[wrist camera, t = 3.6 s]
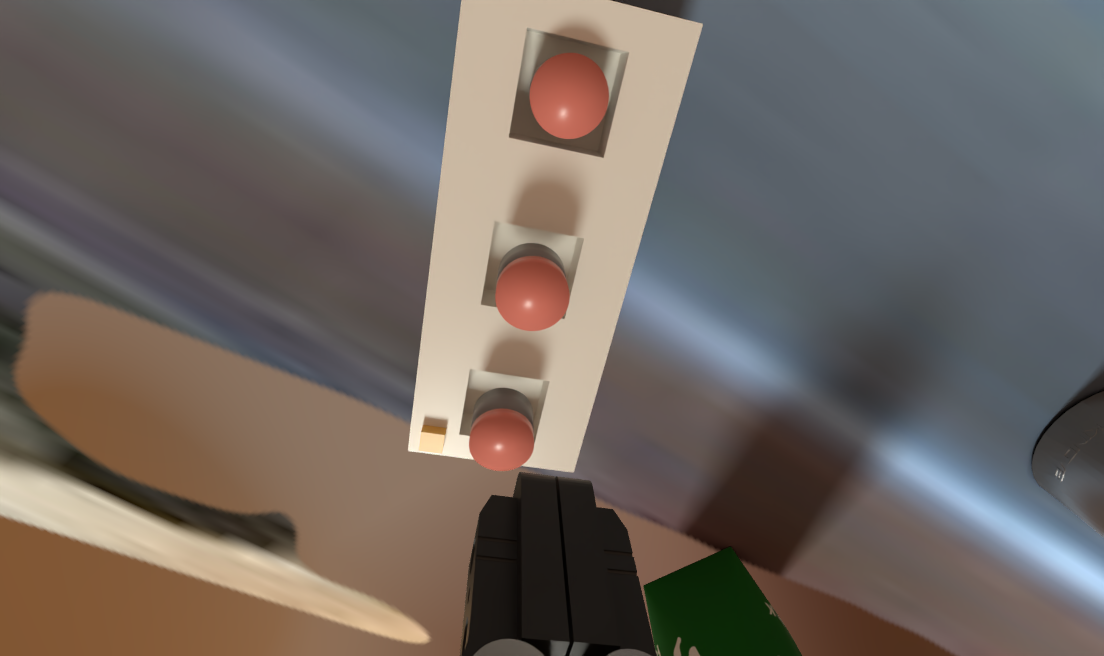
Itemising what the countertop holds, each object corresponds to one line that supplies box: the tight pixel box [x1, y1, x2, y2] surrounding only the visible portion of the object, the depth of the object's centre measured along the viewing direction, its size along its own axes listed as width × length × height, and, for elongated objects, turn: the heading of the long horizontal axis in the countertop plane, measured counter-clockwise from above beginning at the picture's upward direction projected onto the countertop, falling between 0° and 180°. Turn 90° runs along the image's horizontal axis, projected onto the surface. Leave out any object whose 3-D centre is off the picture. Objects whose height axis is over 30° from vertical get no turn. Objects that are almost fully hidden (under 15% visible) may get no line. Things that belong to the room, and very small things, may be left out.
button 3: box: [469, 388, 534, 471], centre depth 26 cm, size 3×3×3 cm
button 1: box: [529, 53, 609, 139], centre depth 21 cm, size 3×3×3 cm
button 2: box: [495, 243, 570, 331], centre depth 23 cm, size 3×3×3 cm
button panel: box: [408, 0, 703, 472], centre depth 25 cm, size 9×26×5 cm, turn 168°
